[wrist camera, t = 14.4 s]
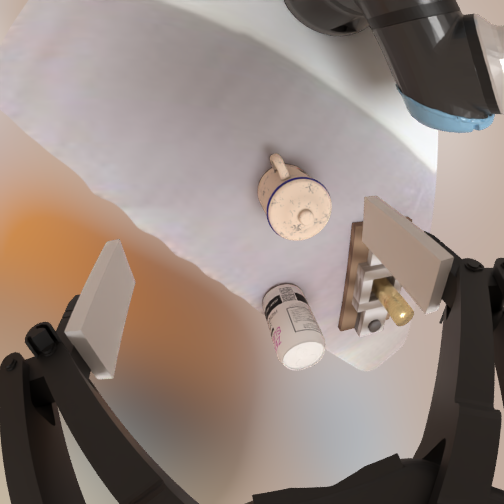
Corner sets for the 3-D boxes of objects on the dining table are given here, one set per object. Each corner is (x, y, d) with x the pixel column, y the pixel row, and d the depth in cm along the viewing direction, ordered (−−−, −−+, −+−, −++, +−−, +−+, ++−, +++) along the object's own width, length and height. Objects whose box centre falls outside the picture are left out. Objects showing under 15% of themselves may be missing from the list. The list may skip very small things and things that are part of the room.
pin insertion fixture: (352, 222, 52) (366, 236, 47) (407, 216, 53) (423, 228, 48) (338, 326, 65) (347, 343, 60) (385, 315, 66) (396, 330, 62)
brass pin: (365, 279, 57) (393, 318, 47) (381, 268, 56) (411, 305, 46) (370, 291, 59) (398, 329, 49) (386, 280, 58) (415, 317, 48)
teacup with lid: (317, 202, 49) (347, 233, 39) (268, 224, 49) (286, 261, 39) (293, 136, 42) (322, 151, 33) (238, 160, 43) (250, 182, 33)
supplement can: (307, 303, 60) (333, 358, 47) (270, 320, 60) (288, 378, 47) (295, 275, 55) (321, 331, 43) (254, 293, 56) (271, 353, 43)
